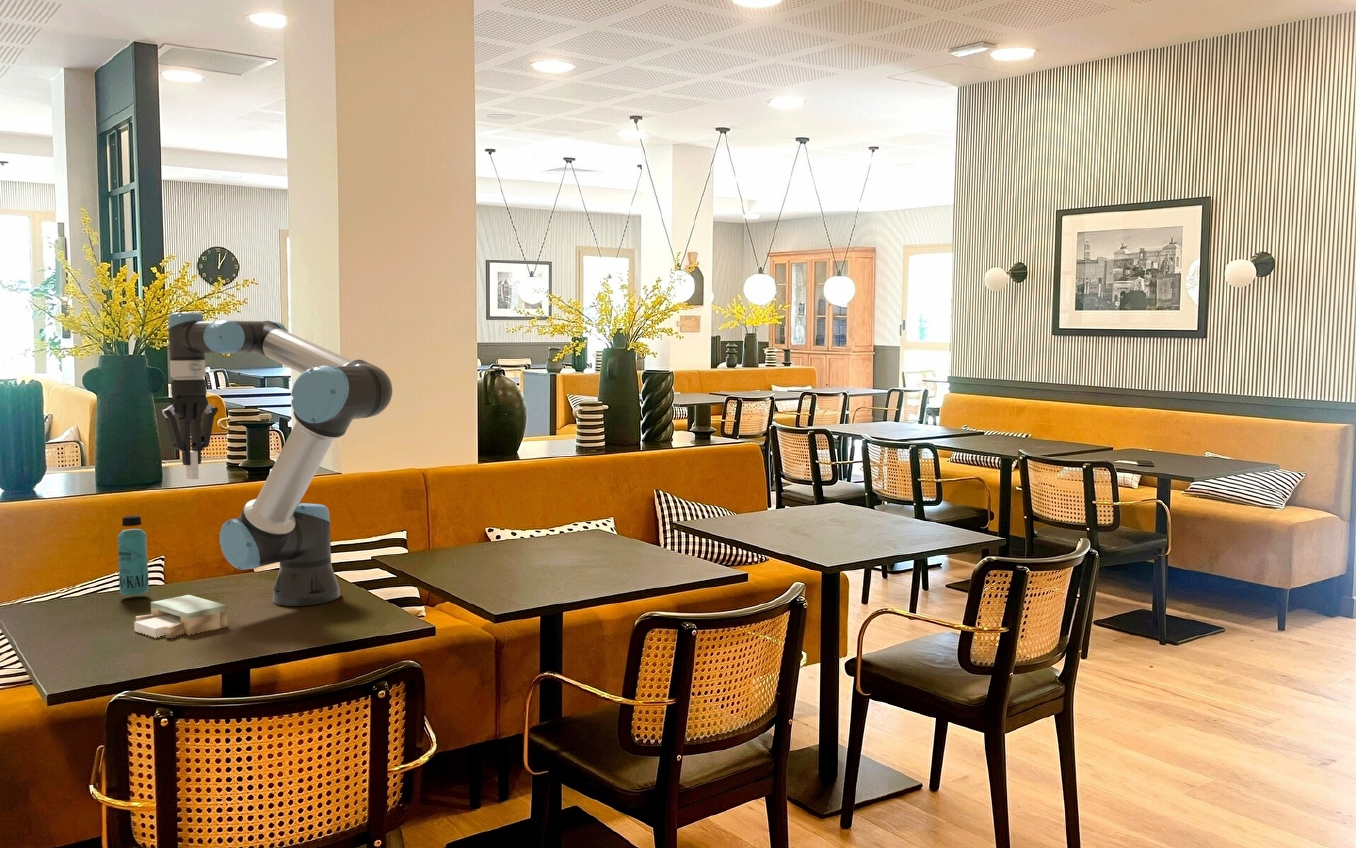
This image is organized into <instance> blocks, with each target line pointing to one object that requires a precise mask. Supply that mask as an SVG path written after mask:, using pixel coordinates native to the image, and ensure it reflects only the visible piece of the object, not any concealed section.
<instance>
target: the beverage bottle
mask: <svg viewBox="0 0 1356 848" xmlns="http://www.w3.org/2000/svg"><path fill="white" fill-rule="evenodd" d="M141 525H142V521H141V516H140V515H127V516H123V517H122V522H121V526H122V527H135V526H141ZM147 535H148V534H147V532H146V531H144V530H143V529H141V528H130V529H123V530H122V531H120V533H119V534H118V535H117V547H118V549H117V557H118V565H117V567H118V589H119V590H118V591H119V593H120V594H121V595H122V596H123V595H124V596H133V595H140V594H145V593H147V592H149V588H150V585H149V581H150V579H149V578H150V577H149V565H148V564H149V560H148V547H147V543H148V542H147V540H148V539H147Z"/></svg>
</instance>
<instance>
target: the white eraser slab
mask: <svg viewBox="0 0 1356 848" xmlns="http://www.w3.org/2000/svg"><path fill="white" fill-rule="evenodd" d="M179 622H181V617H180V616H176V615H173V614H170V615H165V616H160V617H156V618H151V619H146V620H141V621H136V620H135V621H133V623H134V626H133V627H134V632H136V633H138V634H141V633H142V635H144V634H145V636H147V635H148V636H147V637H150V636H151V637H150V638H153V637H154V638H153V639H157V637H158V638H161V637H160V636H163V635H166V630H165V627H167V626H170V625H173V624H176V623H179ZM163 637H164V636H163Z"/></svg>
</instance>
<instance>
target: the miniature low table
mask: <svg viewBox="0 0 1356 848" xmlns="http://www.w3.org/2000/svg"><path fill="white" fill-rule="evenodd" d="M227 607H228V606H227V605H226V604H224V603H220V602H216V601H212V600H209V599H205V598H202V597H198V596H195V595H191V594H185V595H182V596H175V597H171V598H166V599H160V600H156V601H150V612H151V613H149V614H144V615H136V616H135V622H136V621H141V620H146V619H151V618H156V617H160V616H165V615H170V614H173V615H176V616H180V617H181V622H179V623H176V624H173V625H170V626H167V627H165V630H166V636H165V639H167V638H171V639H173V637H174V638H177V637H179V636H178V635H180V636H182V635H181V634H183V635H186V634H187V636H192V635H196V634H195V633H197V634H200V632H201V633H204V632H205V631H206V632H209V630H210V631H214V630H219V629H222V628H226V627H228V613H227V611H228V610H227V609H228V608H227ZM206 632H205V633H206ZM184 633H185V634H184ZM191 634H192V635H191ZM176 636H177V637H176Z"/></svg>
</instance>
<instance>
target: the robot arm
mask: <svg viewBox="0 0 1356 848" xmlns="http://www.w3.org/2000/svg"><path fill="white" fill-rule="evenodd" d="M167 332H168V333H167V334H168V345H169V348H168V349H169V360H170V361H169V368H170V372H169V373H170V377H171V378H173V379H172V380H171V381H170V390H171V391H170V392H171V401H170V402H169V404H170V405H169V406H168V407H166V408H165V409H161V410H160V414H161V416H162V417H163V419H164V420H165V423H166V426H167V431H168V433H169V437H170V440H171V444H172V448H173V449H174V450H178V451H181V453H182V454H181V455H182V457H181V458H182V459H181V460H182V465H183V466H185V469H186V479H188V480H199V479H200V478H199V477H200V476H199V465H201V464H202V451H203V450H204V449H205V448H208V447H209V446H210V440H211V436H212V431H213V430H212V429H213V426H214V421H215V417H216V415H217V414H218V411H219V408H218V407H217V406H212V405H211V404H209V399H207V393H208V391H207V381H206V379H204V378H205V377H206V376H207V372H206V355H205V354H219V355H223V354H224V355H227V354H259V355H262V356H263V357H265V358H268V359H271V360H273V361H275V362H277V363H279V364H281V365H284V366H285V367H288V368H290V369H292V370H293V371H296V372H298V373H300V375H299V376H298V377H297V378H296V380H295V382H294V384H293V386H292V389H291V393H290V396H291V397H292V400H291V401H290V402H291V406H292V409H293V417H294V420H295V423H294V425H293V428H292V429H291V431H290V434H288V436H287V439H286V441H285V443H284V445H283V446H282V449H281V451H280V452H279V454H278V456H277V458H276V461H275V463H274V465H273V466H272V468H271V470H270V471H269V474H268V476H267V477H266V480H265V482H264V484H263V485H262V488H261V489H260V490H259V491H260V492H259V494H258V495H257V497H256V498H254V499H251V500H249V501H247V502H246V504H245V505H244V507H243V509H242V511H241V513H240V514H239V516H238V517H237V518H230V519H229V520H227V521H225V522H224V523H223V524H222V525H221V527H220V532H219V544H220V547H221V552H222V554H223V556H224V557H225V560H227V562H228V563H229V564H230V565H231V566H232V567H234V569H238V570H243V571H245V570H251V569H252V570H255V569H258V568H260V567H265V566H269V565H273V564H277V563H279V571H278V574H277V578H276V581H275V583H274V587H273V590H272V591H273V592H272V602H273V603H274V604H276V605H278V606H279V605H280V606H285V607H287V606H288V607H300V606H314V605H320V604H326V603H329V602H332V601H333V602H334V601H335V600H337V599H339V598H340V597H341V593H340V591H341V590H340V589H341V588H340V585H339V583H338V582H339V581H338V580H337V577H336V574H335V572H334V569H333V566H332V553H331V551H332V550H331V549H332V548H331V547H332V546H331V545H332V544H331V543H332V542H331V524H332V521H331V520H330V510H329V508H328V507H327V506H326V505H324V504H320V503H306V502H301V501H302V499H303V497H305V494H306V492H307V490H308V489H309V486H310V485H311V482H312V480H313V478H314V477H315V475H316V473H317V471H318V469H319V467H320V465H321V463H322V462H323V460H324V459H325V456H326V455H327V453H328V450H329V448H330V447H331V445H332V443H333V441H334V439H339V438H342V437H343V436H344V435H345V434H346V432H347V431H348V428H349V427H350V426H351V423H352V421H353V420H359V419H366V418H372V417H375V416H377V415H379V414H381V413H382V412H384V410H386V409H387V407H388V405H389V404H390V402H391V400H392V397H393V384H392V381H391V379H390V377H389V375H388V374H387V372H385V371H384V370H383V369H382V368H381V367H378V366H376V365H374V364H372V363H370V362H367V361H366V360H363V359H358V358H357V359H353V360H352V359H350V358H348V357H346V356H343V355H341V354H338V353H336V352H334V351H332V350H330V349H327V348H324V347H322V346H320V345H318V344H316V343H314V342H312V341H309V340H307V339H304V338H302V337H300V336H298V335H295V334H293V333H290V332H289V331H288V329H287V328H286V327H285V325H284V324H283V323H280V321H279V322H278V321H272V320H260V321H259V320H246V321H245V320H229V319H217V320H205V318H204V314H203V313H201V312H172V313H170V314H169V316H168V328H167ZM203 413H204V416H203V417H202V415H203ZM175 415H177V416H178V422H179V426H178V424H177V419H176V417H175ZM202 418H203V419H202ZM202 420H203V421H202ZM179 429H180V430H179Z"/></svg>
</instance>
